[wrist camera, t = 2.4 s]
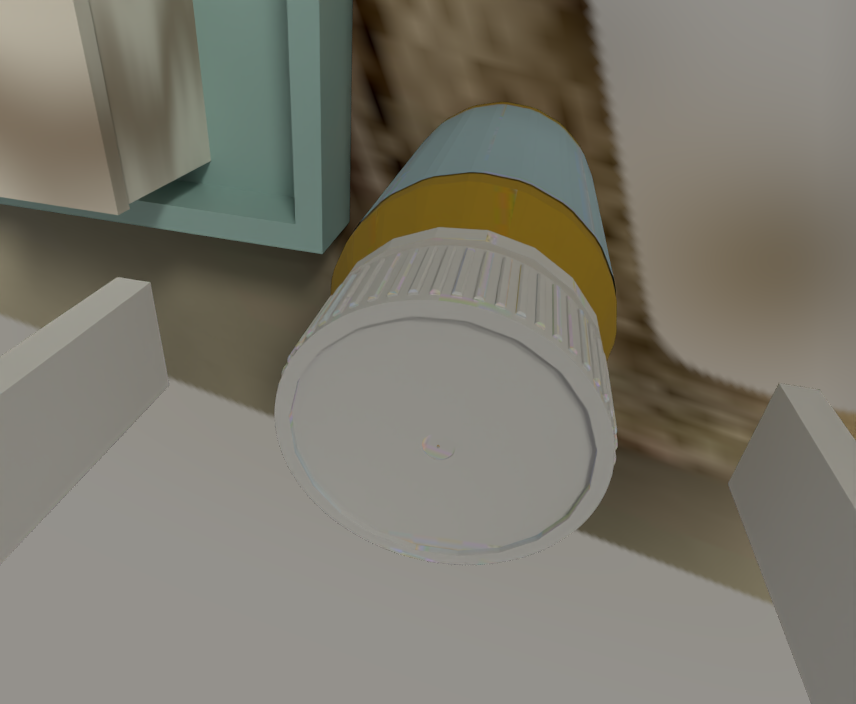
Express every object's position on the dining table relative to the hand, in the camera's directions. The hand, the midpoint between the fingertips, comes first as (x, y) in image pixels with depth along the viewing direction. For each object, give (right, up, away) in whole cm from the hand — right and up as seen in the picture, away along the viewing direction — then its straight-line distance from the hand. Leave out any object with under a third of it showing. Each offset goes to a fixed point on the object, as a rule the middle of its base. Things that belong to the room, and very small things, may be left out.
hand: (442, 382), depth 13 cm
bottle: (+2, +7, +10) cm, 13 cm away
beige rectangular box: (-12, +11, +9) cm, 19 cm away
